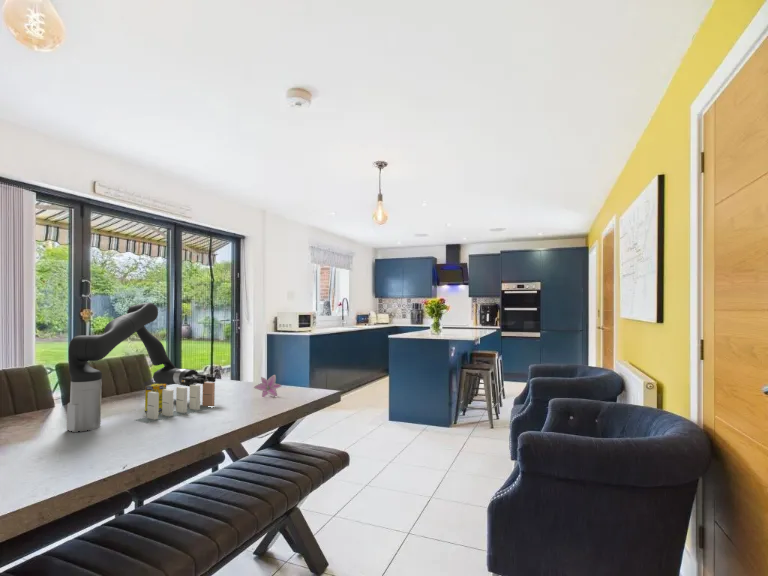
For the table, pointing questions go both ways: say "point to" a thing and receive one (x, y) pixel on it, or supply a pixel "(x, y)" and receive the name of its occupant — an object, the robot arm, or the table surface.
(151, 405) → the end tile
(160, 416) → the domino mat
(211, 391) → the tile
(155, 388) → the supplement box
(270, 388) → the lily
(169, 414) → the tile
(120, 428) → the table surface
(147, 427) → the table surface
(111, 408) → the table surface
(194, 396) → the tile
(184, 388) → the tile
